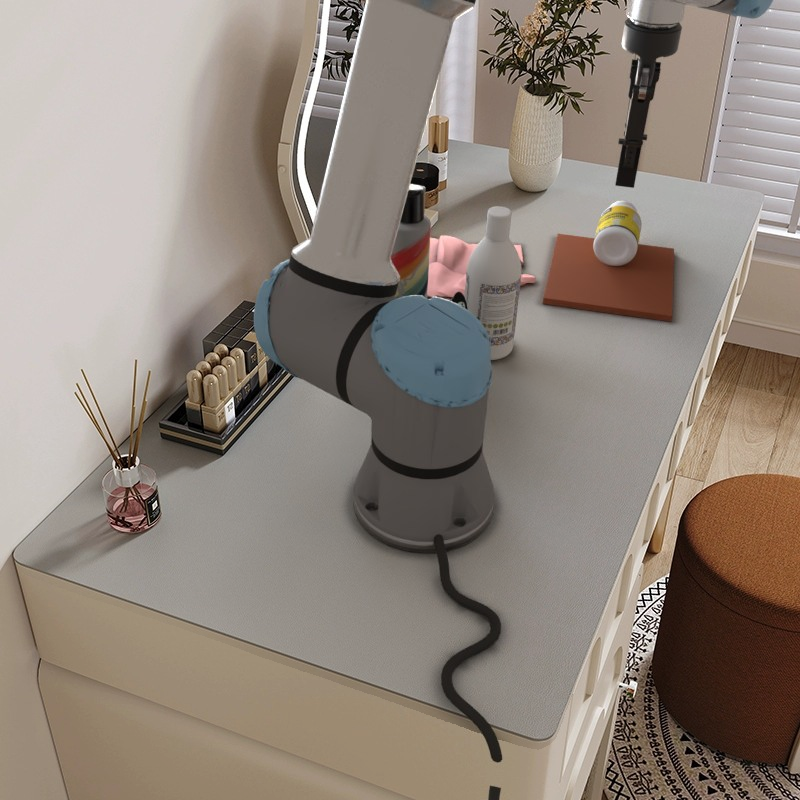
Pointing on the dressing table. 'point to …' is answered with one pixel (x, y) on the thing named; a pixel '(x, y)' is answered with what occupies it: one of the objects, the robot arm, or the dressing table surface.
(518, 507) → the dressing table surface
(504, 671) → the dressing table surface
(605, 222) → the pill bottle
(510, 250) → the bath foam
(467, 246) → the cloth
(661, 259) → the mat
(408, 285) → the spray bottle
